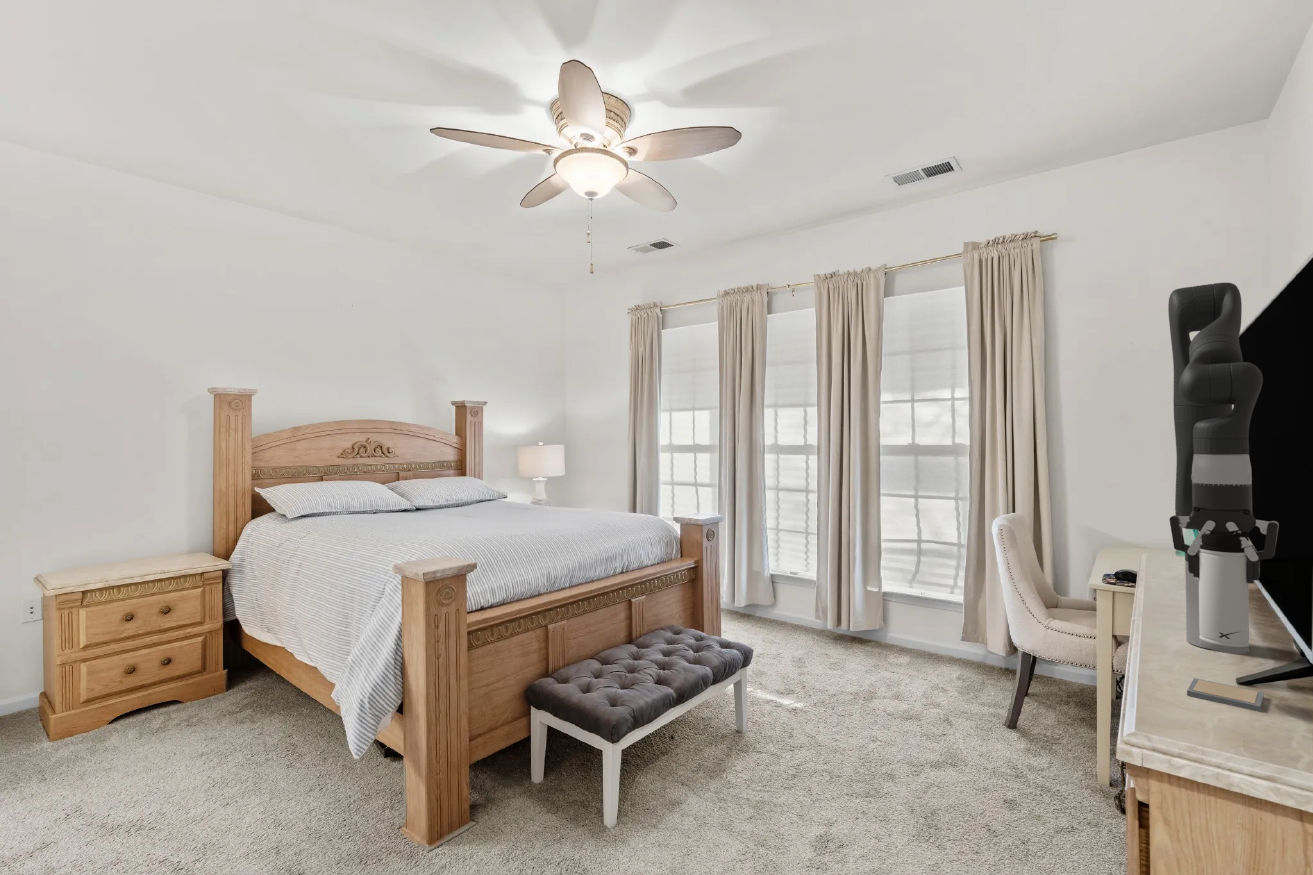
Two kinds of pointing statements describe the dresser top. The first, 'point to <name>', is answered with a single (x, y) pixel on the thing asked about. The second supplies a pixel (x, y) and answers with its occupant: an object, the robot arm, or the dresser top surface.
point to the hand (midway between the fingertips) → (1223, 579)
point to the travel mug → (1223, 594)
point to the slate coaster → (1226, 694)
